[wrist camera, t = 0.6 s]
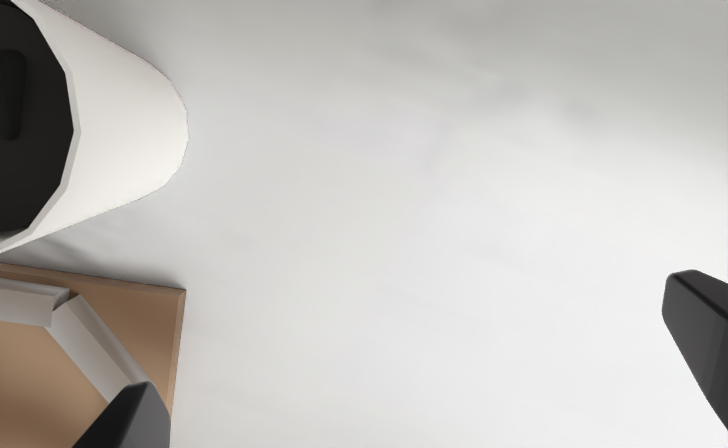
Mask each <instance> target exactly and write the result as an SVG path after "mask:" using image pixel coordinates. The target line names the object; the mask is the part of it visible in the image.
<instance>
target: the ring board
mask: <svg viewBox="0 0 728 448" xmlns="http://www.w3.org/2000/svg"><path fill="white" fill-rule="evenodd" d="M185 296H186V290H182V289H176V288H169V287H162V286H155V285H149V284H142V283H135V282H128V281H121V280H115V279H108V278H101V277H94V276H88V275H81V274H74V273H67V272H60V271H54V270H47V269H40V268H33V267H27V266H20V265H13V264H6V263H0V448H71V447H72V446H73V445H74V444H75V443H76V441H77V440H78V439H79V438H80V437H81V436H82V434H83V433H84V432H85V431H86V430H87V429H88V428H89V426H90V425H91V424H92V423H93V422H94V421H95V419H96V418H97V417H98V416H99V415H100V414H101V413H102V411H103V410H104V409H105V408H106V407H107V406H108V404H109V403H110V402H111V401H112V400H113V399H114V398H115V396H116V395H117V394H118V393H119V392H120V391H121V389H123V388H124V387H125V386H126V385H129V384H133V383H137V382H142V381H150V382H152V383H153V384H154V386H155V387H156V389H157V391H158V393H159V395H160V396H161V398H162V400H163V402H164V404H165V405H166V407H167V409H168V411H169V415H170V420H171V412H172V404H173V395H174V387H175V379H176V371H177V362H178V354H179V346H180V338H181V329H182V321H183V313H184V305H185Z"/></svg>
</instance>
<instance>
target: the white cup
mask: <svg viewBox="0 0 728 448" xmlns="http://www.w3.org/2000/svg"><path fill="white" fill-rule="evenodd" d="M188 140H189V132H188V123H187V115H186V108H185V106H184V104H183V102H182V100H181V99H180V97H179V95H178V93H177V91H176V89H175V88H174V86H173V84H172V82H171V81H170V80H169V79H168V78H166V77H165V76H164V75H163V74H162V73H160V72H159V71H158V70H157V69H156V68H154V67H153V66H152V65H151V64H150V63H148V62H147V61H145V60H143V59H141V58H140V57H138V56H136V55H134V54H132V53H131V52H129V51H127V50H125V49H124V48H122V47H120V46H118V45H116V44H115V43H113V42H111V41H109V40H108V39H106V38H104V37H102V36H100V35H99V34H97V33H95V32H93V31H92V30H90V29H88V28H86V27H84V26H83V25H81V24H79V23H77V22H76V21H74V20H72V19H70V18H68V17H67V16H65V15H63V14H61V13H60V12H58V11H56V10H54V9H52V8H51V7H49V6H47V5H45V4H44V3H42V2H40V1H38V0H0V253H2V252H4V251H7V250H10V249H12V248H15V247H17V246H20V245H22V244H25V243H28V242H30V241H33V240H35V239H38V238H40V237H43V236H46V235H48V234H51V233H53V232H56V231H58V230H61V229H64V228H66V227H69V226H71V225H74V224H76V223H79V222H82V221H84V220H87V219H89V218H92V217H94V216H97V215H100V214H102V213H105V212H107V211H110V210H112V209H115V208H118V207H120V206H123V205H125V204H128V203H130V202H133V201H136V200H139V199H141V198H143V197H144V196H146V195H148V194H150V193H152V192H154V191H156V190H158V189H160V188H162V187H164V186H165V184H166V183H167V182H168V181H169V179H170V178H171V177H172V176H173V174H174V173H175V172H176V171H177V170H178V168H179V167H180V166H181V164H182V161H183V157H184V154H185V150H186V147H187V143H188Z"/></svg>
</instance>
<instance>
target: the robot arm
mask: <svg viewBox="0 0 728 448" xmlns="http://www.w3.org/2000/svg"><path fill="white" fill-rule="evenodd" d="M662 316H663V319H664V322H665V324H666V326H667V328H668V330H669V331H670V333H671V335H672V337H673V339H674V341H675V343H676V344H677V346H678V348H679V350H680V352H681V354H682V355H683V357H684V359H685V361H686V363H687V365H688V366H689V368H690V370H691V372H692V374H693V376H694V378H695V379H696V381H697V383H698V385H699V387H700V388H701V390H702V392H703V394H704V395H705V397H706V399H707V400H708V402H709V403H710V405H711V407H712V408H713V410H714V411H715V413H716V414H717V416H718V417H719V418H720V420H721V421H722V423H723V424H724V426H725V427H726V429H727V430H728V283H726V282H723V281H721V280H719V279H716V278H714V277H712V276H709V275H707V274H705V273H702V272H700V271H697V270H686V271H681V272H676V273H672V274H670V275H669V276H668V278H667V280H666V285H665V292H664V298H663V305H662ZM170 427H171V421H170V415H169V411H168V409H167V407H166V405H165V404H164V402H163V400H162V398H161V396H160V395H159V393H158V391H157V389H156V387H155V386H154V384H153V383H152V382H150V381H142V382H137V383H133V384H129V385H126V386H125V387H124V388H123V389H121V391H120V392H119V393H118V394H117V395H116V396H115V398H114V399H113V400H112V401H111V402H110V403H109V404H108V406H107V407H106V408H105V409H104V410H103V411H102V413H101V414H100V415H99V416H98V417H97V418H96V419H95V421H94V422H93V423H92V424H91V425H90V426H89V428H88V429H87V430H86V431H85V432H84V433H83V434H82V436H81V437H80V438H79V439H78V440H77V441H76V443H75V444H74V445H73V446H72V447H71V448H169V447H170Z"/></svg>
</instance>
